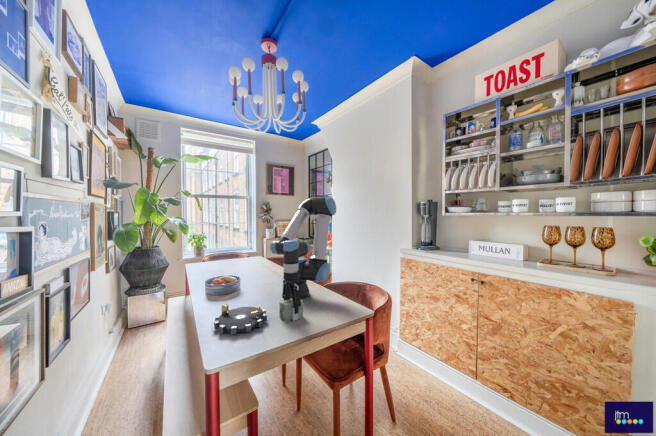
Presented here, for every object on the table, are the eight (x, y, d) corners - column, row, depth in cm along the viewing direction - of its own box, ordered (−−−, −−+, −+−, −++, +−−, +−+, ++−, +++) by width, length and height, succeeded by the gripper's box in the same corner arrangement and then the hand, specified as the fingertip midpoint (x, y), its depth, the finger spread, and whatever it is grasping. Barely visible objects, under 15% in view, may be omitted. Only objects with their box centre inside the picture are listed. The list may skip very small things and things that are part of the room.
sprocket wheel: (202, 331, 97) (202, 315, 97) (233, 309, 120) (233, 296, 120) (251, 336, 93) (251, 319, 93) (274, 313, 116) (274, 299, 116)
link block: (279, 317, 113) (279, 301, 113) (297, 312, 119) (297, 297, 119) (284, 322, 108) (284, 305, 108) (303, 316, 114) (303, 300, 114)
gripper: (308, 274, 107) (308, 322, 107) (288, 266, 124) (288, 307, 124) (294, 277, 102) (294, 327, 103) (275, 268, 119) (275, 311, 119)
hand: (291, 316), depth 113 cm, fingers open, 8 cm apart
